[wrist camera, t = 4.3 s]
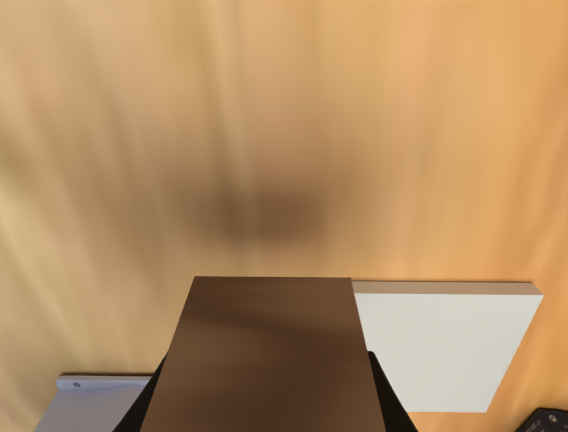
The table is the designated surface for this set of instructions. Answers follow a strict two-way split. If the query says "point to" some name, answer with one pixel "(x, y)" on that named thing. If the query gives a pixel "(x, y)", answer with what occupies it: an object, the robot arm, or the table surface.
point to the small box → (546, 422)
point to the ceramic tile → (445, 338)
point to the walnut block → (267, 360)
